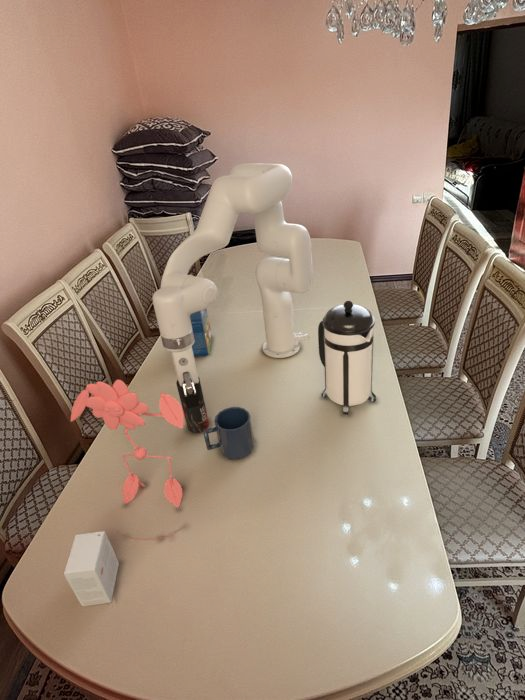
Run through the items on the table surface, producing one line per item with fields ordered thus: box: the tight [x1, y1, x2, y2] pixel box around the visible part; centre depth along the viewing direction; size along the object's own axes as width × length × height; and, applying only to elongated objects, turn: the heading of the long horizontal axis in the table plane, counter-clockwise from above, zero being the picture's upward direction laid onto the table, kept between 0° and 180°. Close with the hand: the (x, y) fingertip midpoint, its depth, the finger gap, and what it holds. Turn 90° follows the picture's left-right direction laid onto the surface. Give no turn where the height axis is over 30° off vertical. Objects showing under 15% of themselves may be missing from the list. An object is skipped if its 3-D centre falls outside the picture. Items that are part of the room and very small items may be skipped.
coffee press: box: [317, 300, 377, 416], centre depth 118 cm, size 17×16×30 cm
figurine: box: [70, 379, 186, 543], centre depth 90 cm, size 15×26×35 cm, turn 78°
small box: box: [63, 530, 120, 607], centre depth 83 cm, size 8×6×10 cm
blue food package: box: [190, 308, 213, 357], centre depth 151 cm, size 6×12×25 cm, turn 0°
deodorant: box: [176, 376, 210, 434], centre depth 118 cm, size 6×6×15 cm
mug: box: [202, 406, 255, 461], centre depth 111 cm, size 12×9×10 cm
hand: (190, 395), depth 116 cm, fingers open, 9 cm apart
